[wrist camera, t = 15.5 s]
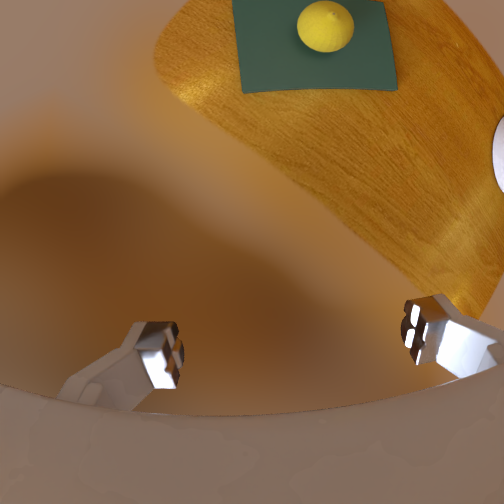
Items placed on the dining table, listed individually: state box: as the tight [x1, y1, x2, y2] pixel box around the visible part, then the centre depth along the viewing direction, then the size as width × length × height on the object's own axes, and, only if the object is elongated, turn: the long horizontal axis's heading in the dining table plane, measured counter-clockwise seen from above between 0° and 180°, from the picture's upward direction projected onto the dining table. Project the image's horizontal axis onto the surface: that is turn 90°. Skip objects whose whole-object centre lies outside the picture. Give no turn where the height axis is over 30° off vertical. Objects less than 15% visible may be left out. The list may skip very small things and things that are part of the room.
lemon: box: [297, 1, 354, 52], centre depth 23 cm, size 6×6×8 cm
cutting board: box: [232, 0, 398, 94], centre depth 28 cm, size 18×12×2 cm, turn 96°
